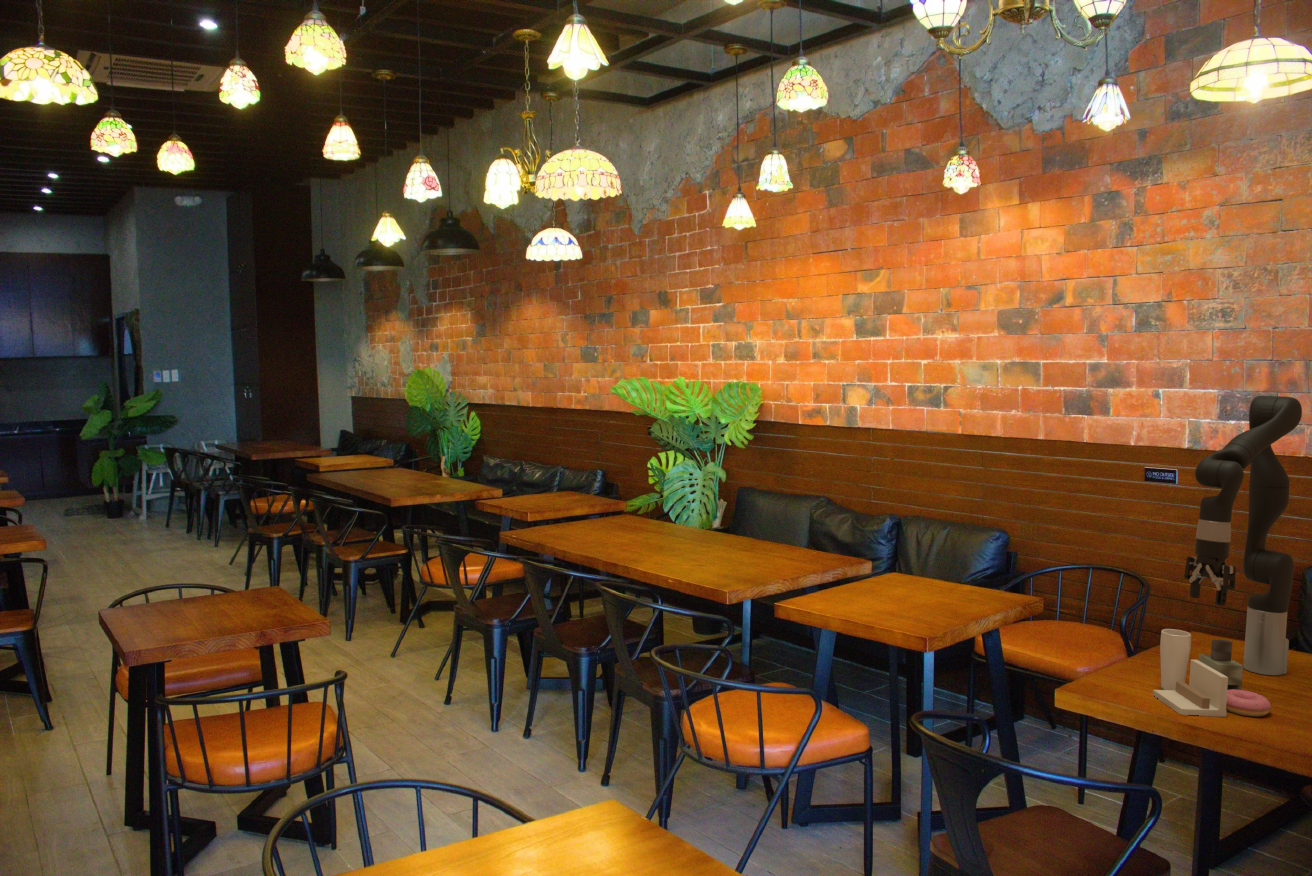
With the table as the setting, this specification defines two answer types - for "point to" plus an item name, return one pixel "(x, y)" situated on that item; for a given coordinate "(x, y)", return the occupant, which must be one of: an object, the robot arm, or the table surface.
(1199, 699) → the stand
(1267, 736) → the table surface
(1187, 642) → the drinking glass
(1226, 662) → the olive boxy piece
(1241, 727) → the table surface
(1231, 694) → the doughnut
